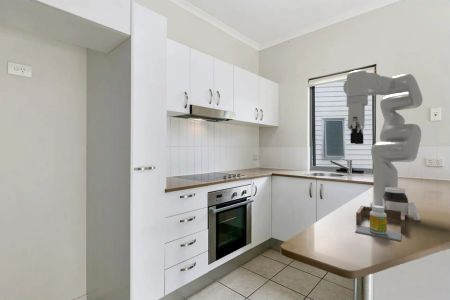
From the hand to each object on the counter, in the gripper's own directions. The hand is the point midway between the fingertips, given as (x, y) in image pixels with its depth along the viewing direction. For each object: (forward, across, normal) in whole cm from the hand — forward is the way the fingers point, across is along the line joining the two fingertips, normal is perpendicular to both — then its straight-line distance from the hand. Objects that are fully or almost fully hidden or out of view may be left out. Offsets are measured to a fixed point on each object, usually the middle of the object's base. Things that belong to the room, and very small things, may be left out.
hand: (357, 143), depth 91 cm
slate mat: (+30, +16, +8) cm, 35 cm away
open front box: (+30, +4, +8) cm, 32 cm away
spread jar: (+31, -12, +14) cm, 36 cm away
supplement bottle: (+30, +15, +8) cm, 35 cm away
